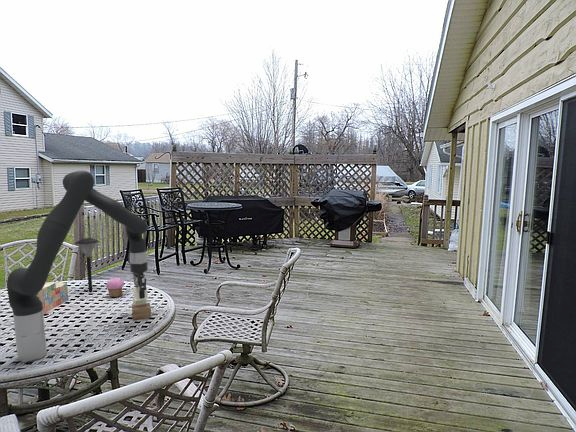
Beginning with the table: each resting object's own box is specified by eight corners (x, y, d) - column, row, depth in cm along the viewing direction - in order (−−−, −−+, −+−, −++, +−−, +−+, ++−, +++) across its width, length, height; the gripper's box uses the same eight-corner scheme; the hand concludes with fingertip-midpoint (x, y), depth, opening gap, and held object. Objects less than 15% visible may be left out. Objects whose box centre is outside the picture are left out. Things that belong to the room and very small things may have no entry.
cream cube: (147, 298, 186) (147, 288, 185) (136, 301, 183) (136, 290, 182) (144, 296, 190) (144, 285, 189) (133, 298, 187) (133, 287, 186)
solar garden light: (104, 287, 230) (100, 236, 226) (101, 294, 219) (97, 240, 215) (80, 289, 226) (76, 237, 223) (76, 296, 215) (72, 241, 211)
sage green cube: (146, 308, 197) (146, 299, 196) (136, 310, 194) (135, 301, 193) (143, 305, 201) (143, 296, 200) (133, 307, 198) (132, 298, 197)
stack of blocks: (57, 299, 210) (55, 277, 209) (68, 300, 210) (67, 277, 208) (28, 315, 189) (26, 290, 187) (40, 315, 189) (38, 290, 187)
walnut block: (151, 318, 185) (150, 307, 184) (132, 320, 182) (132, 310, 181) (150, 312, 192) (149, 302, 192) (132, 314, 189) (131, 304, 189)
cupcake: (127, 293, 219) (126, 276, 218) (119, 299, 210) (118, 280, 209) (112, 293, 220) (111, 275, 219) (103, 298, 211) (102, 280, 210)
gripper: (126, 259, 187) (128, 294, 190) (134, 265, 176) (136, 302, 178) (142, 257, 192) (144, 291, 194) (151, 263, 180) (153, 299, 182)
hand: (140, 296), depth 186 cm, fingers closed on cream cube, 5 cm apart
